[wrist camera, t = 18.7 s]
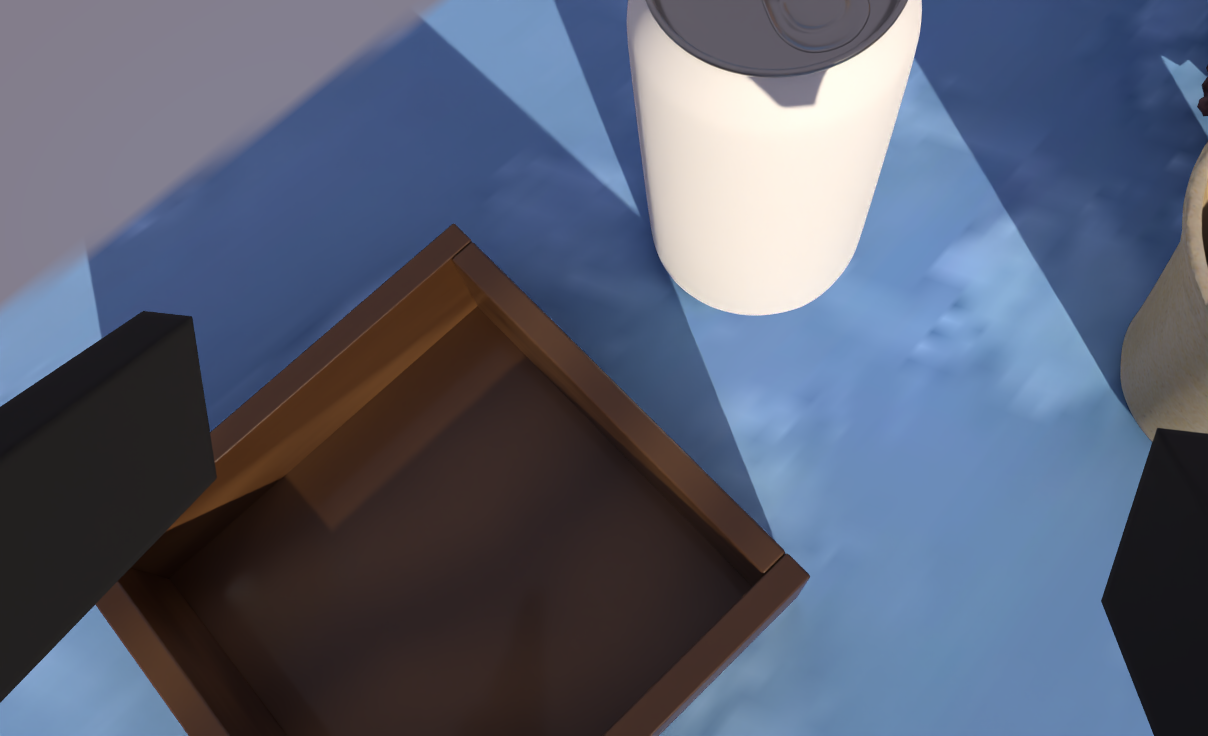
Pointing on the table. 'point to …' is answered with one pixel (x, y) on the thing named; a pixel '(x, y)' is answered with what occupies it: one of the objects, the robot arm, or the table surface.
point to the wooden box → (447, 538)
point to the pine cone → (1204, 98)
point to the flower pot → (1174, 329)
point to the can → (765, 137)
